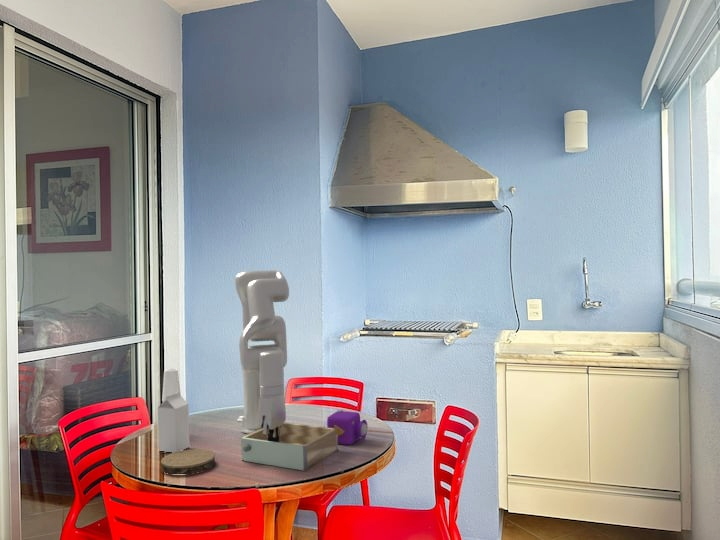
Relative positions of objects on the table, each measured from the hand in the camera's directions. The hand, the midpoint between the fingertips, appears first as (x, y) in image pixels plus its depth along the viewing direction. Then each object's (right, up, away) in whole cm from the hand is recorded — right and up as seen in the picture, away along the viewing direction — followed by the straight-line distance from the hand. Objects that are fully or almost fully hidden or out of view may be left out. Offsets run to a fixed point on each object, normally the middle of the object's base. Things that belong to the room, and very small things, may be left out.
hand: (273, 448), depth 174 cm
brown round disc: (-26, -5, -3) cm, 27 cm away
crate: (+5, -4, +5) cm, 8 cm away
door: (0, -4, -5) cm, 6 cm away
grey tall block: (-42, -5, +31) cm, 53 cm away
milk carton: (-36, -5, +14) cm, 39 cm away
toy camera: (+23, -3, +17) cm, 29 cm away
